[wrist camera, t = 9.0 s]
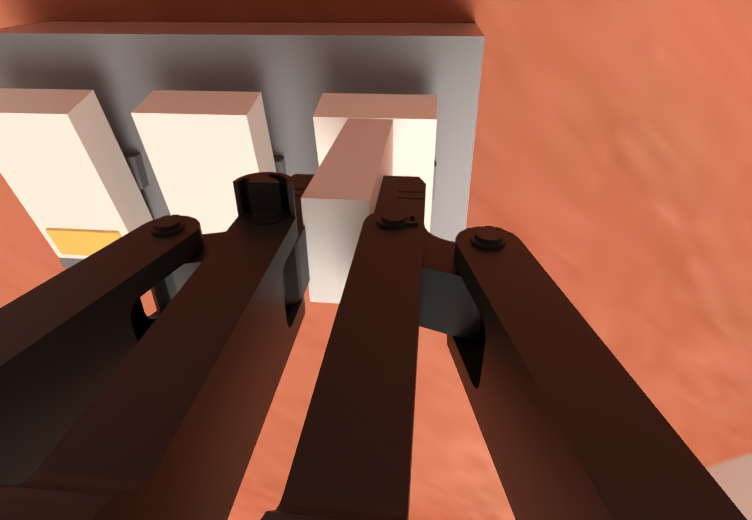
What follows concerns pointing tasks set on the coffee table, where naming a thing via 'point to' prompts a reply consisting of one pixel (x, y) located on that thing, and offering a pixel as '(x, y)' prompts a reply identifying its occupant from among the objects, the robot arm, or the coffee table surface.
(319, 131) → the block
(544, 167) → the coffee table surface
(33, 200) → the rocker
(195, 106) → the rocker
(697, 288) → the coffee table surface
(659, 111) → the coffee table surface
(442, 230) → the switch unit
